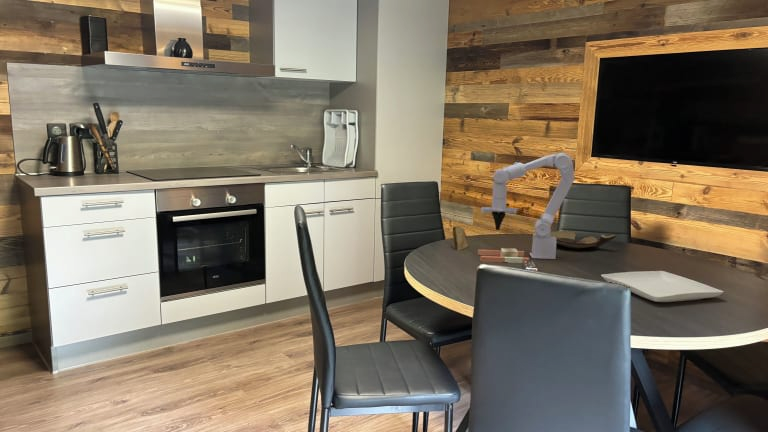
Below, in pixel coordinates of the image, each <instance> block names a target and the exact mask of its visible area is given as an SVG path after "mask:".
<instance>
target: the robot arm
mask: <svg viewBox="0 0 768 432" xmlns="http://www.w3.org/2000/svg"><path fill="white" fill-rule="evenodd" d="M546 166H547V167H551V168H552V167H553V168H554V166H555V167H556V169H558V172H559V174H560V177H561V178H560V180H559V183H558V184H557V186H556V188H555V190H554V191H553V194H552V196H551V197H550V200H549V201H548V203H547V206H546V207H545V209H544V211H543V212H542V214H541V216H540V218H539V219H537V220H536V221H535V223H534V231H535V232H534V233H533V234H532V243H531V246H532V247H531V252H529V255H530V256H531V258H532V259H546V260H547V259H549V260H556V259H557V258H556V257H557V256H556V254H557V243H556V237H553V236H551V234H549V233H550V231H552V228H551V227H552V224H553V222H554V220H555V216H556V215H557V213H558V211H559V209H560V208H561V205H562V203H563V202H564V200H565V198H566V196H567V194H568V192H569V190H570V188H571V187H572V184H573V183H574V181H575V171H574V163H573V161H572V159H571V156H569V155H568V154H567V153H565V152H558V153H553V154H549V155H545V156H543V157H542V156H541V157H540V158H537V159H535V160H532V161H530V162H527V163H522V162H517V161H516V162H514V163H513V164H512V165H509V166H503V167H502V168H500V169H497V170H495V171H494V173H493V177H492V179H493V186H492V198H491V199H492V202H491V206H489V207H488V206H487V207H486V206H485V207H483V206H482V207H481V208H480V212H481V213H491V215H492V218H493V220H494V225H495V230H496V231H500V229H501V226H502V223H503V221H504V219H505V217H506V214H517V208H515V207H507V195H508V194H507V191H508V187H507V181H508V180H509V181H512V180H515V179H518V178H521V177H523V176H526V173H527V172H529V171H532V170H535V169H540V168H541V167H546Z"/></svg>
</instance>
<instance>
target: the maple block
mask: <svg viewBox="0 0 768 432" xmlns="http://www.w3.org/2000/svg"><path fill="white" fill-rule="evenodd" d="M500 250H501V256H500V257H519V256H518V251H519V250H517V248H508V247H506V248H504V247H501V248H500Z"/></svg>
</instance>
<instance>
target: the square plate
mask: <svg viewBox="0 0 768 432" xmlns="http://www.w3.org/2000/svg"><path fill="white" fill-rule="evenodd" d="M600 276H601V277H602V278H603V279H604V280H605V281H606V282H607V283H609V282H612V283H617V284H621V285H625V286H627V287H630V289H631V291H632V292H631V293H632V294H634V295H637V296H640V297H641V298H644V299H647V300H650V301H652V302H656V303H672V302H684V301H696V300H703V299H709V298H710V299H711V298H715V297H718V296H720V295H722V294H723V293H724V292H725V291H724V290H721V289H718V288H715V287H713V286H711V285H707V284H705V283H701V282H698V281H696V280H693V279H689V278H687V277H684V276H681V275H677V274H674V273H670V272H668V271H664V270H654V271H651V270H649V271H648V270H646V271H626V272H614V273H606V274H605V273H604V274H601V275H600Z"/></svg>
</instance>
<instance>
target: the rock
mask: <svg viewBox="0 0 768 432" xmlns="http://www.w3.org/2000/svg"><path fill="white" fill-rule="evenodd" d="M452 239H453V240H452V241H453V242H452V243H453V244H452V247H453V248H452V249H454V250H456V251H462V250H464V249H466V248H467V247H469V246H470V242H469V238H468V235H467V234H466V232H465V229H464V228H463V227H461V226H459V225H457V226H456V225H455V226H453V227H452Z"/></svg>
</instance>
